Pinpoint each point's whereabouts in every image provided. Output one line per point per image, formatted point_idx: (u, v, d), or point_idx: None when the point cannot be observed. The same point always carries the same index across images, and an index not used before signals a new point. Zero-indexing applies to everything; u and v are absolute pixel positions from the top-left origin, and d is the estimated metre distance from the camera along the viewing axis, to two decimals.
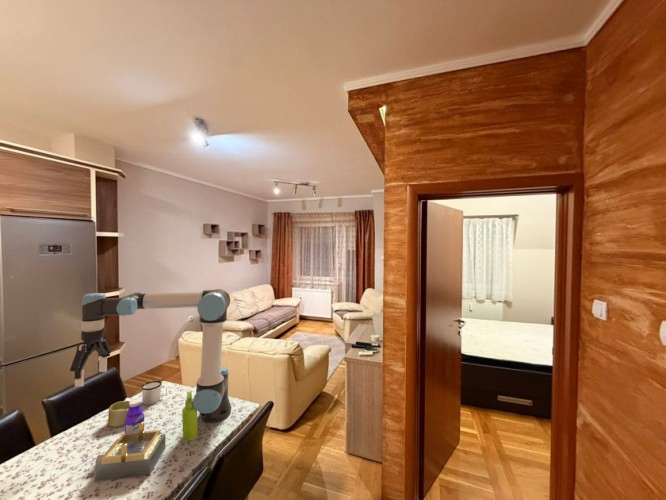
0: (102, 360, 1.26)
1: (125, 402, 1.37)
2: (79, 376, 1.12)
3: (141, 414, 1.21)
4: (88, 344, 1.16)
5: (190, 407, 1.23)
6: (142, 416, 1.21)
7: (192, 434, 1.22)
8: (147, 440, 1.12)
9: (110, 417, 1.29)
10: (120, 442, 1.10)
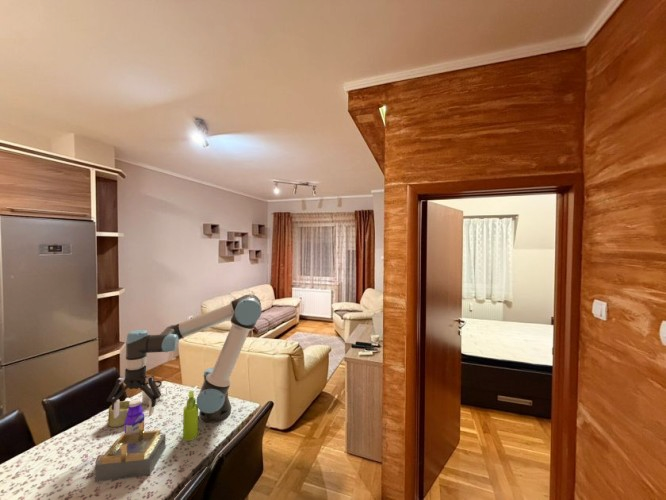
0: None
1: (125, 402, 1.37)
2: (113, 407, 1.18)
3: (141, 414, 1.21)
4: (124, 380, 1.19)
5: (192, 406, 1.23)
6: (142, 416, 1.21)
7: (193, 434, 1.22)
8: (147, 440, 1.12)
9: (110, 417, 1.29)
10: (120, 442, 1.10)
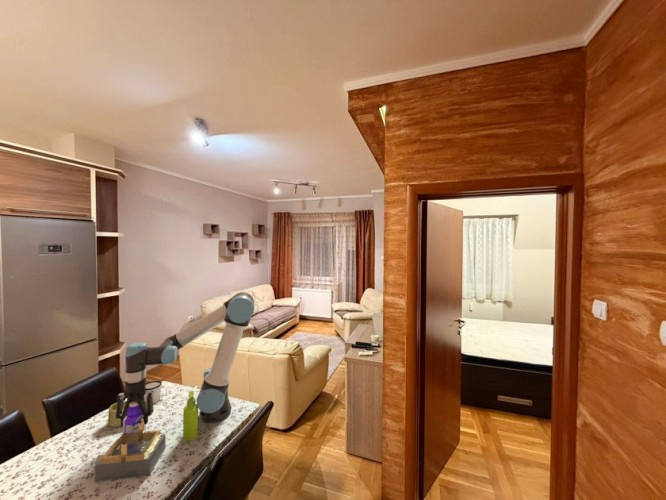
0: None
1: (125, 402, 1.37)
2: (122, 424, 1.19)
3: (141, 414, 1.21)
4: (124, 393, 1.19)
5: (192, 406, 1.23)
6: (142, 416, 1.21)
7: (193, 434, 1.22)
8: (147, 440, 1.12)
9: (110, 417, 1.29)
10: (120, 442, 1.10)
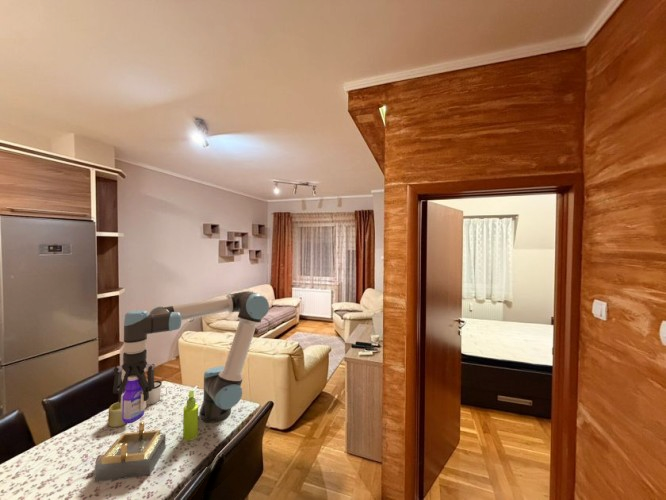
0: None
1: None
2: (120, 400, 1.07)
3: (141, 389, 1.09)
4: (122, 366, 1.07)
5: (192, 406, 1.23)
6: None
7: (193, 434, 1.22)
8: (147, 440, 1.12)
9: (110, 417, 1.29)
10: (120, 442, 1.10)
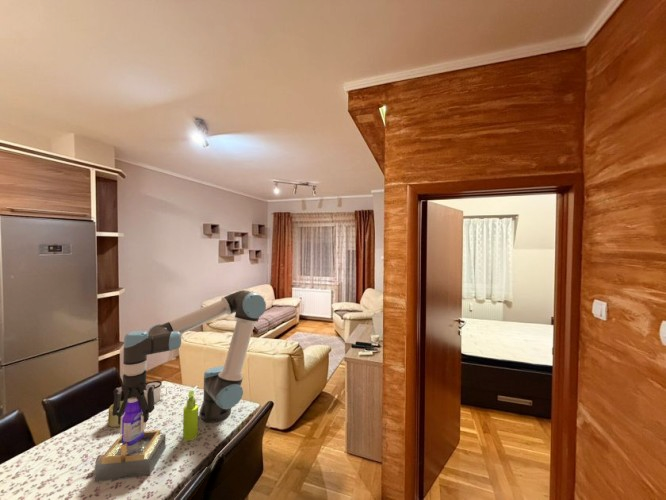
0: None
1: None
2: (119, 422, 1.06)
3: (141, 411, 1.08)
4: (122, 388, 1.06)
5: (192, 406, 1.23)
6: (142, 413, 1.09)
7: (193, 434, 1.22)
8: (147, 440, 1.12)
9: (110, 417, 1.29)
10: (120, 442, 1.10)
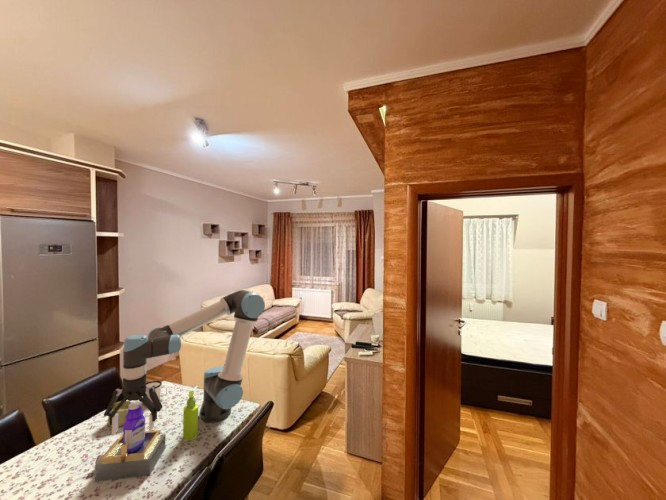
0: None
1: (125, 402, 1.37)
2: (111, 422, 1.06)
3: (142, 417, 1.09)
4: (122, 391, 1.06)
5: (192, 406, 1.23)
6: (143, 420, 1.09)
7: (193, 434, 1.22)
8: (147, 440, 1.12)
9: None
10: (120, 442, 1.10)
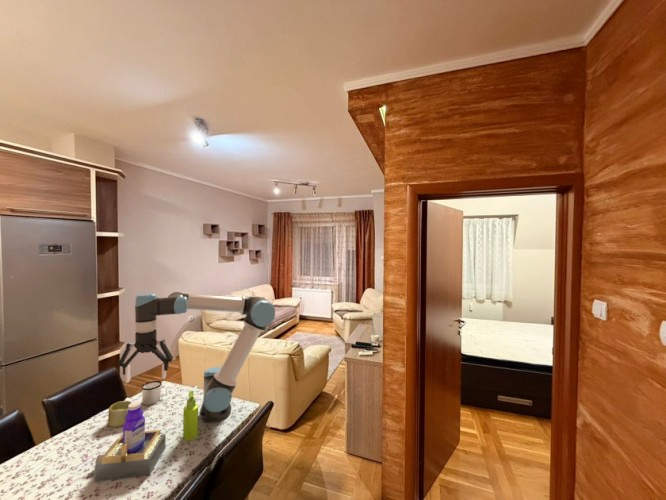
0: None
1: (125, 402, 1.37)
2: (124, 372, 1.15)
3: (142, 418, 1.09)
4: (135, 344, 1.16)
5: (192, 406, 1.23)
6: (143, 420, 1.09)
7: (193, 434, 1.22)
8: (147, 440, 1.12)
9: (110, 417, 1.29)
10: (120, 442, 1.10)
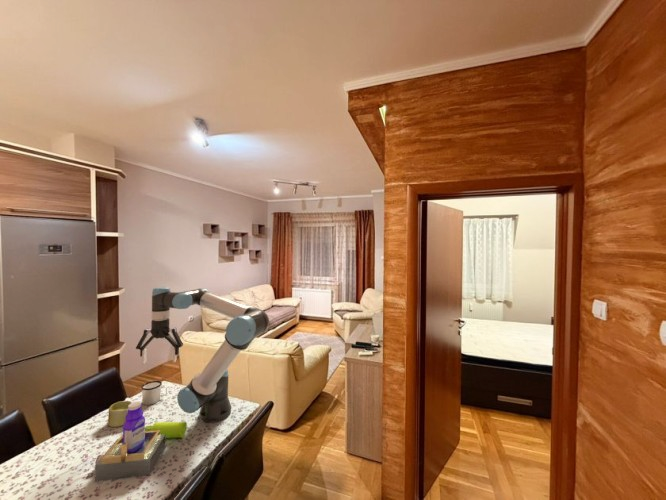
0: None
1: (125, 402, 1.37)
2: (141, 354, 1.33)
3: (142, 418, 1.09)
4: (151, 330, 1.34)
5: (150, 429, 1.22)
6: (143, 420, 1.09)
7: (176, 427, 1.22)
8: (147, 440, 1.12)
9: (110, 417, 1.29)
10: (120, 442, 1.10)
